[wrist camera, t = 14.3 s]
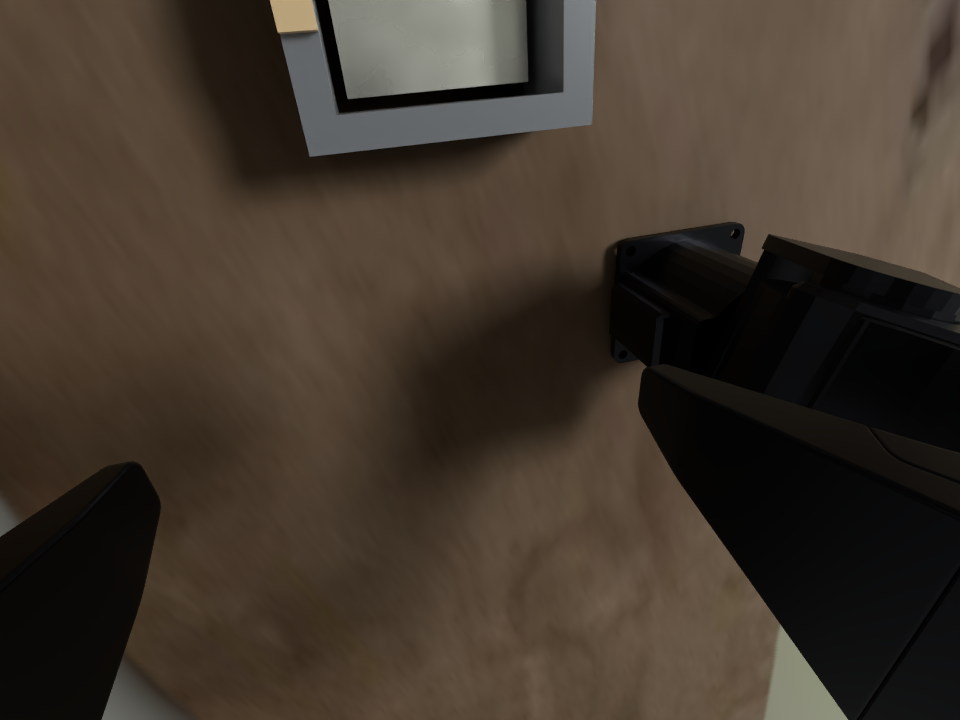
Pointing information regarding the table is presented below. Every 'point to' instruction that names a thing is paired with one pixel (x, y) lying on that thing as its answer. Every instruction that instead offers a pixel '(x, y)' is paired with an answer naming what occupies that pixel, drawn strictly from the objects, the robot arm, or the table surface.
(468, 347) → the table surface
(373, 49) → the plate
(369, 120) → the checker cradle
